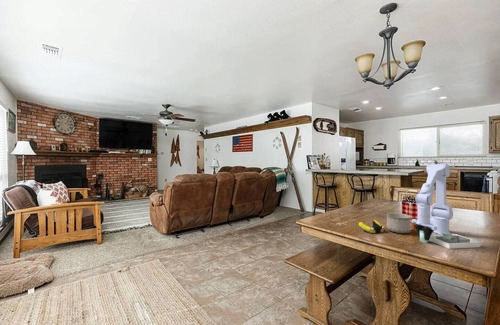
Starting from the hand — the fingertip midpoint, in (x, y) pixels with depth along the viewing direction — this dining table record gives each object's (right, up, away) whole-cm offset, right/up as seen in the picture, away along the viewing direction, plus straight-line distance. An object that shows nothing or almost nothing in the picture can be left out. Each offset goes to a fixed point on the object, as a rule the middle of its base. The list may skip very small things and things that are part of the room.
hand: (423, 238), depth 127 cm
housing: (+14, -2, -3) cm, 14 cm away
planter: (-3, -2, +18) cm, 18 cm away
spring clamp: (-19, -2, +20) cm, 27 cm away
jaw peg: (0, -2, 0) cm, 2 cm away
